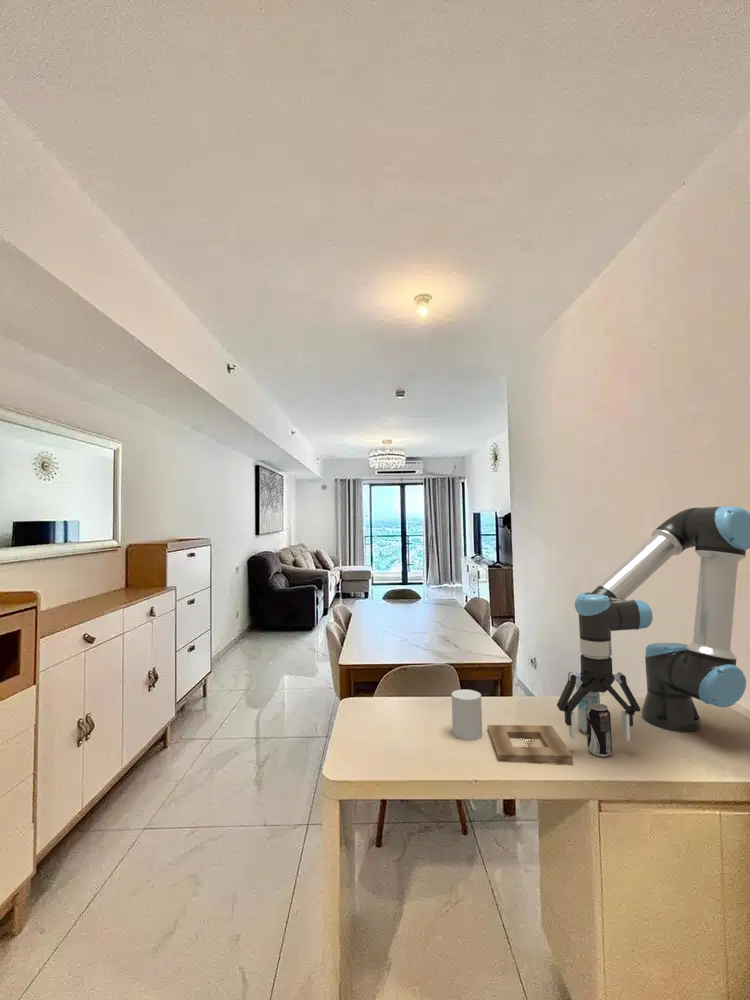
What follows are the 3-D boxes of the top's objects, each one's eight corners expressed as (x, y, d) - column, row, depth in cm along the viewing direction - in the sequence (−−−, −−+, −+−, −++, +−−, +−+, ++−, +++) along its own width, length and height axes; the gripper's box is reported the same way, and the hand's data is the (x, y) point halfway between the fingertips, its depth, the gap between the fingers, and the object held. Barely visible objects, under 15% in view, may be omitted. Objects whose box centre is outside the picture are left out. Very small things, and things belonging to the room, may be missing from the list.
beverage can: (589, 746, 131) (587, 700, 132) (613, 750, 128) (611, 704, 129) (586, 755, 126) (584, 707, 127) (611, 760, 123) (609, 711, 124)
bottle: (605, 737, 136) (602, 664, 137) (579, 736, 137) (576, 663, 138) (599, 727, 142) (596, 657, 143) (575, 726, 144) (572, 656, 145)
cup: (485, 734, 139) (483, 691, 140) (478, 746, 132) (477, 701, 133) (457, 730, 143) (456, 688, 143) (449, 741, 136) (448, 697, 136)
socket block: (552, 734, 139) (551, 725, 139) (572, 765, 121) (572, 755, 121) (487, 733, 140) (487, 724, 140) (498, 764, 122) (498, 754, 122)
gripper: (638, 651, 131) (642, 732, 130) (543, 651, 133) (546, 731, 132) (652, 659, 123) (656, 745, 123) (550, 659, 125) (554, 743, 124)
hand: (599, 738), depth 127 cm, fingers open, 13 cm apart
